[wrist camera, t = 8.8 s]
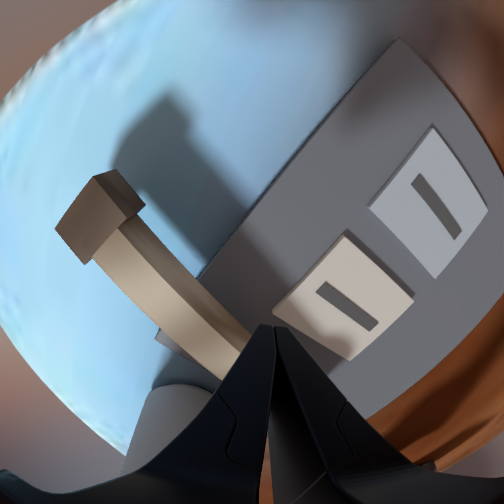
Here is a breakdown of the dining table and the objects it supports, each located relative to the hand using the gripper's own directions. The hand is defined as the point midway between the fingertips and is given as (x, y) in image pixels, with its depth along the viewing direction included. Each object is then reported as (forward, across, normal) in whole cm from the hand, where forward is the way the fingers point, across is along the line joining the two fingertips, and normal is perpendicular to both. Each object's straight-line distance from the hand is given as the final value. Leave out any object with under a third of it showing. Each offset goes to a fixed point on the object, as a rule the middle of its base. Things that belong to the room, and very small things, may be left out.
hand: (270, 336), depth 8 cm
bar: (+7, +2, +5) cm, 9 cm away
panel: (+8, -8, +2) cm, 12 cm away
